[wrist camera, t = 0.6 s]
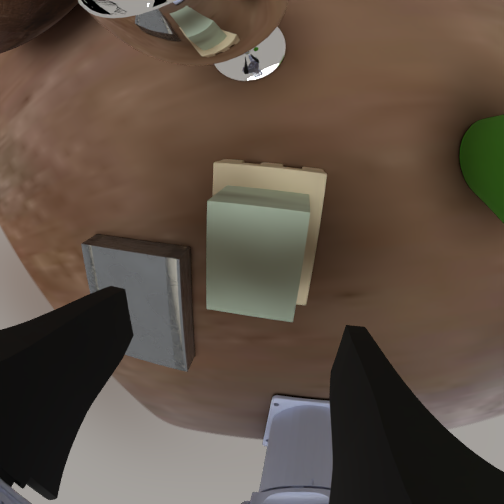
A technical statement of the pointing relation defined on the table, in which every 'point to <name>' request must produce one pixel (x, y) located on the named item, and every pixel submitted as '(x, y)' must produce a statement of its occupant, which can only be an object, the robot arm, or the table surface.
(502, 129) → the cup
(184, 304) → the dock
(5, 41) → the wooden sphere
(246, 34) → the wineglass
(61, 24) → the table surface
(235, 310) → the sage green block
